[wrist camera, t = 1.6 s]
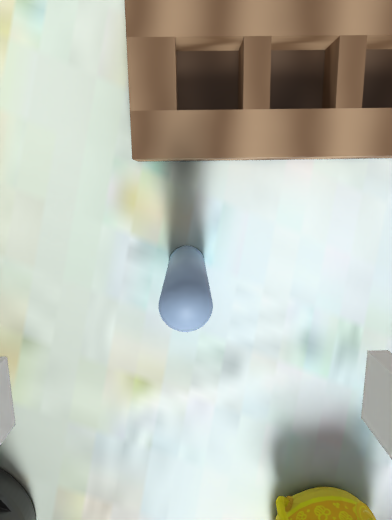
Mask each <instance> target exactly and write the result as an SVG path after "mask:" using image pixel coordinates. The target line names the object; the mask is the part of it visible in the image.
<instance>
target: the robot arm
mask: <svg viewBox="0 0 392 520" xmlns="http://www.w3.org/2000/svg"><path fill="white" fill-rule="evenodd" d="M361 418H362V419H363V421H364V422H365V423H366V425H367V426H368V428H369V429H370V430H371V432H372V433H373V434H374V436H375V437H376V439H377V440H378V441H379V443H380V444H381V445H382V447H383V448H384V449H385V451H386V452H387V454H388V455H389V456H390V458H391V459H392V353H391V352H390V351H388V350H381V351H367V361H366V372H365V382H364V393H363V403H362V414H361ZM14 426H15V416H14V408H13V400H12V392H11V384H10V376H9V368H8V360H7V357H0V445H1V444H2V442H3V441H4V440H5V438H6V437H7V435H8V434H9V433H10V431H11V430H12V428H13V427H14ZM0 520H36V517H35V511H34V508H33V505H32V502H31V500H30V498H29V496H28V494H27V493H26V491H25V490H24V489H23V487H22V486H21V485H20V484H19V483H18V482H17V481H16V480H15V479H14V478H13V477H12V476H11V475H9V474H8V473H7V472H5V471H4V470H2V469H0Z"/></svg>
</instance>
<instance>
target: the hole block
mask: <svg viewBox="0 0 392 520" xmlns="http://www.w3.org/2000/svg"><path fill="white" fill-rule="evenodd" d="M125 17H126V38H127V59H128V79H129V100H130V121H131V141H132V159H133V160H136V161H210V160H284V159H359V158H392V0H125Z"/></svg>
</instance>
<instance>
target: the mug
mask: <svg viewBox="0 0 392 520" xmlns="http://www.w3.org/2000/svg"><path fill="white" fill-rule="evenodd" d="M276 507H277V512H278V514H277V516H276V519H275V520H376V519H375V517H374V515H373V513H372V512H371V510H370V509H369V507H368V506H367V505H366V504H364V503H363V502H361V501H360V500H359V499H358V498H357V497H355V496H354V495H352V494H350V493H349V492H347V491H345V490H342V489H338V488H334V487H317V488H311V489H307V490H305V491H302V492H300V493H298V494H295V495H293V496H287V497H284V496H278V498H277V499H276Z"/></svg>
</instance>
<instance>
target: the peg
mask: <svg viewBox="0 0 392 520" xmlns="http://www.w3.org/2000/svg"><path fill="white" fill-rule="evenodd" d="M212 308H213V304H212V298H211V293H210V288H209V282H208V277H207V272H206V267H205V262H204V257H203V255H202V253H201V252H200V251H199V250H198V249H197V248H195V247H192V246H181V247H179V248H177V249H176V250H175V251H174V252H173V253H172V254H171V256H170V260H169V264H168V268H167V272H166V276H165V280H164V284H163V288H162V292H161V296H160V300H159V312H160V315H161V317H162V319H163V321H164V322H165V323H166V324H167V325H168V326H169V327H171V328H173V329H175V330H178V331H182V332H189V331H194V330H197V329H199V328H200V327H202V326H203V325H204V324H205V323H206V322H207V321H208V320H209V318H210V316H211V313H212Z"/></svg>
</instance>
